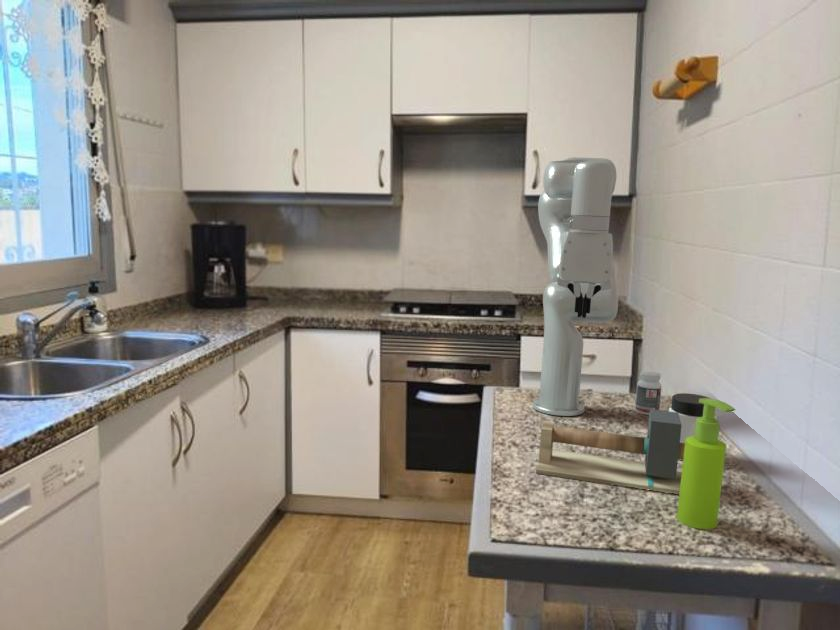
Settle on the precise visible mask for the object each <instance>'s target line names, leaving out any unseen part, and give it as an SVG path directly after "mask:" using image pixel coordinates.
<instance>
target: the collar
mask: <svg viewBox="0 0 840 630" xmlns="http://www.w3.org/2000/svg"><path fill="white" fill-rule="evenodd" d="M648 416H649V417H648V423H647V425H648V426H647V433H646V434H647V435H646V438H649V444H648V454H647V455H645V454H644V462H645V469H646V475H651V476H658V477H665V478H671V479H676V472H677V467H678V461H679V460H678V454H679V445H680V436H681V426H682V424H681V421H680V417H679V414H678V413H676V412H669V410H667V411H666V410H660V409H659V410H651V409H650V413H649V415H648Z"/></svg>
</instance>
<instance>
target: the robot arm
mask: <svg viewBox="0 0 840 630" xmlns="http://www.w3.org/2000/svg"><path fill="white" fill-rule="evenodd" d="M542 179H543V181H542V183H543V184H542V185H543V191H542V192H541V194H540V196H539V199H538V204H537V210H538V221H539V225H540V228H541V231H542V233H543V235H544V238H545V240H546V243H547V244H546V245H547V271H548V277H549V279H550V282H551V283H549V284H547V285H546V287H545V289H544V291H543V295H542V305H543V306H542V307H543V328H544V329H543V344H542V346H543V347H542V359H541V360H542V361H541V371H540V372H541V373H540V374H541V375H540V385H539V387H540V388H539V398H535V399H534V400H533V401H532V409H534V410H536V411H538V412H540V413H543V414H546V415H552V416H558V417H559V416H560V417H573V416H574V417H576V416H579V415H582V414H583V413H585V405H584V404H583V403H581V402H579V401H580V399H579V398H580V390H581V379H582V366H583V354H584V353H583V352H584V351H583V350H584V339H583V338H584V337H583V335H582V334H581V332H580V331H579V330H578V328H577V327H576V326H575V323H582V322H583V323H594V324H595V323H596V324H597V323H599V324H603V323H604V324H605V323H606V324H607V323H609V322H612V321H613V320H614V319H615V318H616V316H617V314H618V311H619V309H618V308H619V300H618V299H619V298H618V287H617V279H616V278H617V277H616V269H615V262H614V242H613V241H614V240H613V234H612V233H609V229H610V218H611V205H612V197H613V194H614V192H615V188H616V187H615V186H616V183H617V168H616V166H615V164H614V161H612V160H610V159H608V158H602V157H601V158H597V157H578V156H577V157H568V158H565V159H563V160H555V161H553V160H552V161H550V162H548V163H547V165H546V167H545V169H544V173H543V177H542Z"/></svg>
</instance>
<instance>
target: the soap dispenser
mask: <svg viewBox="0 0 840 630" xmlns="http://www.w3.org/2000/svg"><path fill="white" fill-rule="evenodd" d="M699 402H700V403H703V404H704V409H703V416H702V417H700V418H697V420H696V428H695V436H691V437H687V438H686V440H685V449H684V458H683V461H682V467H681V468H682V476H681V485H680V494H679V495H678V502H677V503H678V504H677V515H676V519H677V518H678V519H677V520H678V521H679V522H680V523H681V522H682V524H683V525H684V526H687V527H690V528H694V529H696V530H697V529H699V530H713V529H716V527H717V525H718V517H719V510H720V503H721V502H720V501H721V491H722V484H723V477H724V476H723V475H724V467H725V460H726V451H727V444H726V443H724V442H723V441H722V440H719V435H720V434H719V433H720V426H721V425H720V424H721V422H720V420H718V419H717V418H716V419H715V415H716V409H718V410H720V411H722V412H723V413H729V412H730V413H731V412H734V411H736V409H735V408H734V407H733V406H732V405H730V404H729V403H727V402H724V401H721V400H718V399H714V398H711V397H709V398H701V399H699Z"/></svg>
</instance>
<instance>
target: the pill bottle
mask: <svg viewBox="0 0 840 630" xmlns="http://www.w3.org/2000/svg"><path fill="white" fill-rule="evenodd" d="M639 374H640V375H639V377H640V380H639V381H637V383H636V395H635V405H634V411H635V412H637V413H639V414H642V415H645V416H649V413H650V409H651V410H660V406H661V405H660V404H661V395H662V384H661V383H660V380H661V373H659V372H656V371H652V370H643V371H641V372H640V373H639Z"/></svg>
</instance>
